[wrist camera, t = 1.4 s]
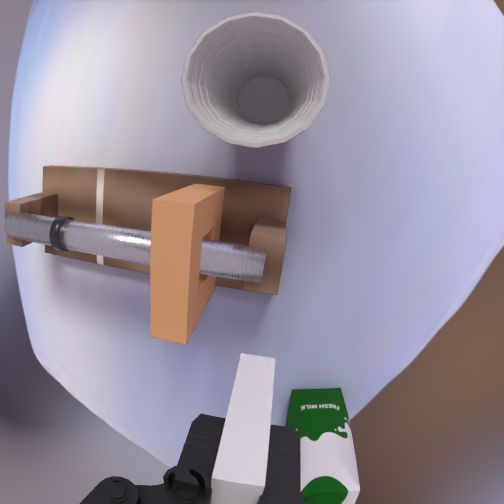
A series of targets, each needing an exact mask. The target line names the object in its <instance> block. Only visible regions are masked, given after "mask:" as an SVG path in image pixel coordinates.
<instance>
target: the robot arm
mask: <svg viewBox="0 0 504 504" xmlns="http://www.w3.org/2000/svg"><path fill="white" fill-rule="evenodd" d="M274 371H275V358H270V357H264V356H257V355H251V354H244V353H241V356H240V360H239V364H238V369H237V373H236V377H235V382H234V386H233V390H232V394H231V399H230V403H229V407H228V412H227V416H226V419H225V418H220V417H215V416H210V415H205V414H200V415H199V416H198V417H197V418H196V419H195V420H194V421H193V422H192V424H191V427H190V430H189V433H188V436H187V438H186V442H185V444H184V447H183V450H182V453H181V456H180V459H179V462H178V464H177V466H174V467H172V468H171V469H169V470H167V472H166V473H165V475H164V476H163V479H164V483H163V484H160V485H153V486H147V485H134V484H133V483H132V482H131V481H130V480H128V479H125V478H123V477H114V476H113V477H109V478H106V479H104V480H103V481H101V482H100V483H99V484H98V485H97V486H96V487H95V488H94V489H93V490H92V491H91V492H90V493H89V494H88V495H87V496H86V497H85V498H84V499H83V501H82V502H81V503H80V504H306V503H305V502H304V500H303V498H302V496H301V460H300V458H301V451H300V449H301V441H300V436H299V434H298V432H297V431H296V429H295V427H286V426H277V425H270V424H271V412H272V399H273V385H274Z"/></svg>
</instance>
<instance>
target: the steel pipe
mask: <svg viewBox="0 0 504 504" xmlns="http://www.w3.org/2000/svg"><path fill="white" fill-rule="evenodd" d="M5 232H6V234H7V235H8V236H9V237H11V238H16V239H21V240H25V241H30V242H35V243H39V244H44V245H49V246H52V247H53V248H54V249H57V250H61V251H69V250H74V251H79V252H84V253H89V254H94V255H99V256H105V257H110V258H115V259H120V260H126V261H131V262H137V263H142V264H148V265H150V251H151V231H146V230H139V229H132V228H125V227H118V226H112V225H105V224H98V223H91V222H84V221H77V220H74V219H73V218H72V217H66V216H58V217H57V218H56V217H49V216H42V215H35V214H28V213H16V212H11V213H10V214H9V215H8V216H7V218H6V220H5ZM266 250H267V249H261V248H255V247H249V246H247V245H240V244H233V243H227V242H220V241H213V240H207V239H202V248H201V260H200V274H205V275H211V276H217V277H224V278H230V279H236V280H242V281H249V282H255V283H262V277H263V270H264V264H265V257H266Z"/></svg>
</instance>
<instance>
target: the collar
mask: <svg viewBox="0 0 504 504" xmlns="http://www.w3.org/2000/svg"><path fill="white" fill-rule="evenodd" d="M224 190H225V187H220V186H212V185H203V184H193V185H190V186H187V187H185V188H182V189H179V190H176V191H174V192H171V193H168V194H166V195H163V196H160V197H158V198H155V199H153V204H152V223H151V251H150V321H151V337H154V338H158V339H162V340H167V341H171V342H176V343H181V344H185V345H186V344H187V342H188V340H189V338H190V336H191V334H192V332H193V330H194V328H195V326H196V324H197V322H198V320H199V318H200V316H201V315H202V313H203V311H204V309H205V307H206V305H207V303H208V301H209V299H210V297H211V295H212V293H213V291H214V289H215V278H216V276H211V275H205V274H200V260H201V248H202V239H207V240H213V241H219V237H220V227H221V217H222V208H223V199H224Z"/></svg>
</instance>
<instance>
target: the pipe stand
mask: <svg viewBox="0 0 504 504" xmlns="http://www.w3.org/2000/svg"><path fill="white" fill-rule="evenodd" d="M193 184H203V185H212V186H220V187H225V190H224V199H223V208H222V217H221V227H220V237H219V241H220V242H227V243H233V244H240V245H247V246H249V247H255V248H261V249H267V250H266V257H265V264H264V270H263V277H262V283H255V282H249V281H242V280H236V279H230V278H224V277H217V276H216V278H215V285H216V286H222V287H228V288H234V289H240V290H246V291H253V292H259V293H265V294H272V295H277V293H278V287H279V281H280V275H281V269H282V264H283V258H284V252H285V245H286V219H287V212H288V206H289V199H290V192H291V188H290V187H283V186H277V185H270V184H263V183H255V182H248V181H240V180H232V179H224V178H216V177H207V176H198V175H188V174H178V173H168V172H156V171H144V170H131V169H116V168H98V167H77V166H44V167H43V192H42V193H38V194H34V195H31V196H27V197H23V198H19V199H16V200H12V201H8V202H5V220H6V218H7V216H8V215H9V214H10V213H11V212H16V213H28V214H35V215H42V216H49V217H56V218H57V217H58V216H66V217H72V218H73V219H74V220H77V221H84V222H91V223H98V224H105V225H112V226H118V227H125V228H132V229H139V230H146V231H151V223H152V204H153V199H155V198H158V197H160V196H163V195H166V194H168V193H171V192H174V191H176V190H179V189H182V188H185V187H187V186H190V185H193ZM7 243H8V244H12V245H16V246H21V247H23V246H25V245H28V244H30V243H32V242H30V241H25V240H21V239H16V238H11V237H9V236H8V235H7ZM45 252H46V253H51V254H55V255H60V256H64V257H69V258H74V259H78V260H83V261H88V262H93V263H97V264H101V265H107V266H112V267H117V268H122V269H127V270H133V271H138V272H143V273H148V274H150V265H148V264H142V263H137V262H131V261H126V260H120V259H115V258H110V257H105V256H99V255H94V254H89V253H84V252H79V251H74V250H69V251H61V250H57V249H54V248H53V247H52V246H49V245H45Z"/></svg>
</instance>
